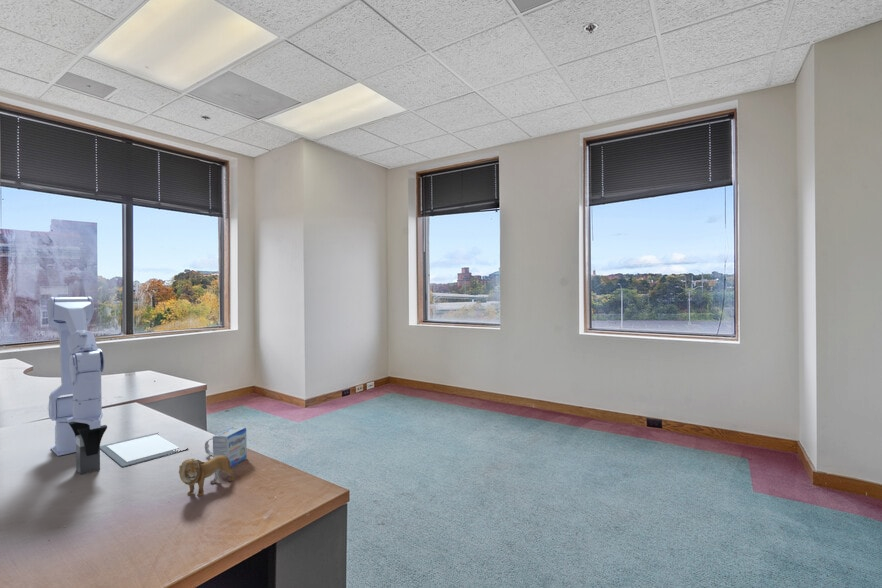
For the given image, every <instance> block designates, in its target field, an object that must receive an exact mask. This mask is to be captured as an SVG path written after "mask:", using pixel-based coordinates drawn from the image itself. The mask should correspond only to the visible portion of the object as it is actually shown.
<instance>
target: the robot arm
mask: <svg viewBox="0 0 882 588" xmlns="http://www.w3.org/2000/svg"><path fill="white" fill-rule="evenodd" d="M94 311H95V303H94V299H93V297H91V296H65V297H64V296H62V297H60V296H58V297H57V296H55V297H54V296H50V297H48V299H47V302H46V313H47V324H48V327H50V328H54V329H56V330H57V334H58V338H59V341H58V342H59V359H60V360H59V361H60V380H61V381H60V383H61V385H60V386H59V387H57V388H55V389H54V390H53V391H51V392H50V394H49V396H48V405H47V406H48V407H47V408H48V416H49V420H51V421H53V422H54V421H55V426H54V445H52V446H50V449H51V450H52V451H53V453H54V454H55V455H56V456H57V457H60V456H64V455H68V454H69V455H70V454H73V453H76V436H77V435H81V437H82V439H83V442H84V447H85V452H86V455H87V456H90V455H95V454H98V451H99V447H100V446H101V443H102V440H103V436H104V434H105V433H106V430H108V425H106V424H104V425H102V424H101V423H102V422H101V420H102V418H103V416H104V414H103V412H102V411H103V410H102V409H103V408H102V373H103V372H104V369H105V356H104V353H103V352H104V351H103V350H102V349H101V348H100V347H98V345H97V341H96V336H95V335H94V333H93V332H91V331H88V325H89V324H90V322H91V320H92V318H93V316H94V314H95V313H94ZM66 395H67V396H66Z"/></svg>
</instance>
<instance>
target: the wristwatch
mask: <svg viewBox="0 0 882 588" xmlns="http://www.w3.org/2000/svg"><path fill="white" fill-rule="evenodd" d="M211 440H213V437H211V438H209V439H208V440H207V441H205V443H204V451H205V453H206V454H207V455H208V456H211V455H212V457H213V451H210V449H209V448H210V444H209V442H210V441H211Z"/></svg>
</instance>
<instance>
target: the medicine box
mask: <svg viewBox="0 0 882 588" xmlns="http://www.w3.org/2000/svg"><path fill="white" fill-rule="evenodd" d="M212 438H213V439H212V453H213V456H212V458H214V457H216V456H220V455H224V456H226V457H228V459H229V461H230V464H231V469H232V468H233V467H235V466H236V465H238V464H239V463H241V462H242V461H245V460H246V459H247V456H248V455H247V453H248V452H247V428H246V427H242V426H232V427H230V428H228V429H226V430H223V431H221V432H219V433H217V434H215V435H213V436H212Z"/></svg>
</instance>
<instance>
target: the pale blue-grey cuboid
mask: <svg viewBox="0 0 882 588" xmlns="http://www.w3.org/2000/svg"><path fill="white" fill-rule="evenodd" d="M75 468H76V469H75V471H76V472H77V473H78V474H79V475H80V476H81V474H82V475H86V474H89V473H92V472H96V471H100V470H101V449H100V447H99V451H98V454H95V455H90V456H87V455H86V452H85V447H84V442H83V439H82V437H81V435H77V436H76V452H75Z"/></svg>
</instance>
